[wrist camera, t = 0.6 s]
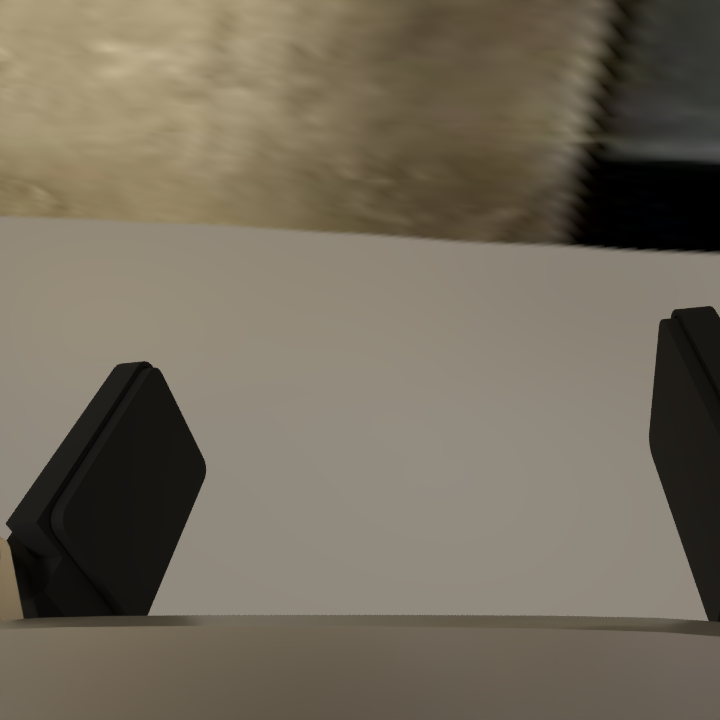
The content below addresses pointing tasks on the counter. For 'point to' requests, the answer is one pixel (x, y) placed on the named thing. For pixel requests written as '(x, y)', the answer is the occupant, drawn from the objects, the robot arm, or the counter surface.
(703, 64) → the counter surface
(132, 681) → the robot arm
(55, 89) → the counter surface
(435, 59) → the counter surface
